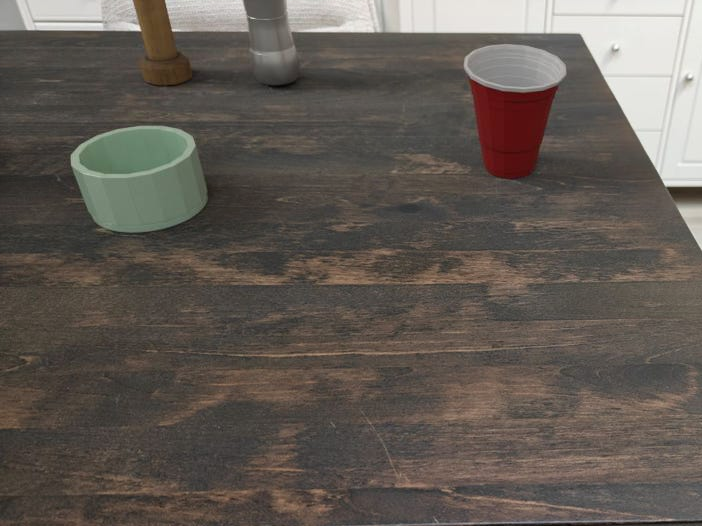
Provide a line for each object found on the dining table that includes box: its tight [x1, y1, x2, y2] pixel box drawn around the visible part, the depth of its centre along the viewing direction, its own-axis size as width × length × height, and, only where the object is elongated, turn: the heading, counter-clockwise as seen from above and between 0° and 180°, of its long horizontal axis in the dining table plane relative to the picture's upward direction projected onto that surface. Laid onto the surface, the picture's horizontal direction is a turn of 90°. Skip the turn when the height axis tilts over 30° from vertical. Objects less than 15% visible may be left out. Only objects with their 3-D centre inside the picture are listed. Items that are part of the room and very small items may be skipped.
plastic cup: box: [463, 43, 567, 179], centre depth 81 cm, size 11×11×12 cm
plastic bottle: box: [242, 0, 301, 86], centre depth 97 cm, size 6×7×20 cm
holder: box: [70, 125, 209, 234], centre depth 76 cm, size 12×12×6 cm
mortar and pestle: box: [132, 0, 194, 86], centre depth 98 cm, size 7×6×18 cm
